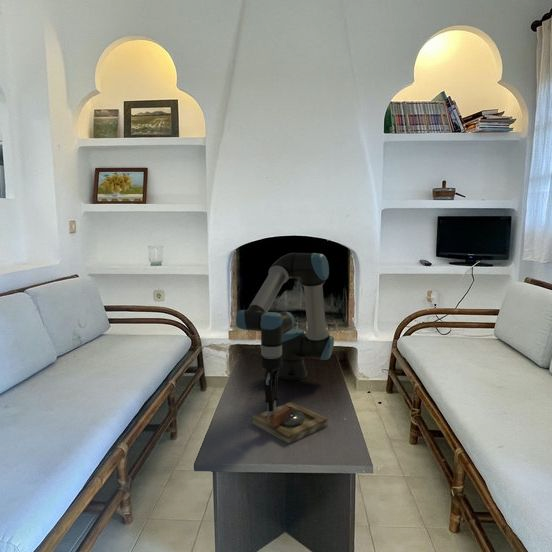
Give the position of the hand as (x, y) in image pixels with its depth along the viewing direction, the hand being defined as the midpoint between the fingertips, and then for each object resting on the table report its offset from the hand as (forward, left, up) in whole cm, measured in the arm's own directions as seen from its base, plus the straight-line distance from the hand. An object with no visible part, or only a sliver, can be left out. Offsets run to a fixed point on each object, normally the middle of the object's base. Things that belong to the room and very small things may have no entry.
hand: (271, 418), depth 152 cm
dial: (-5, +2, -3) cm, 6 cm away
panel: (-8, +1, -5) cm, 9 cm away
